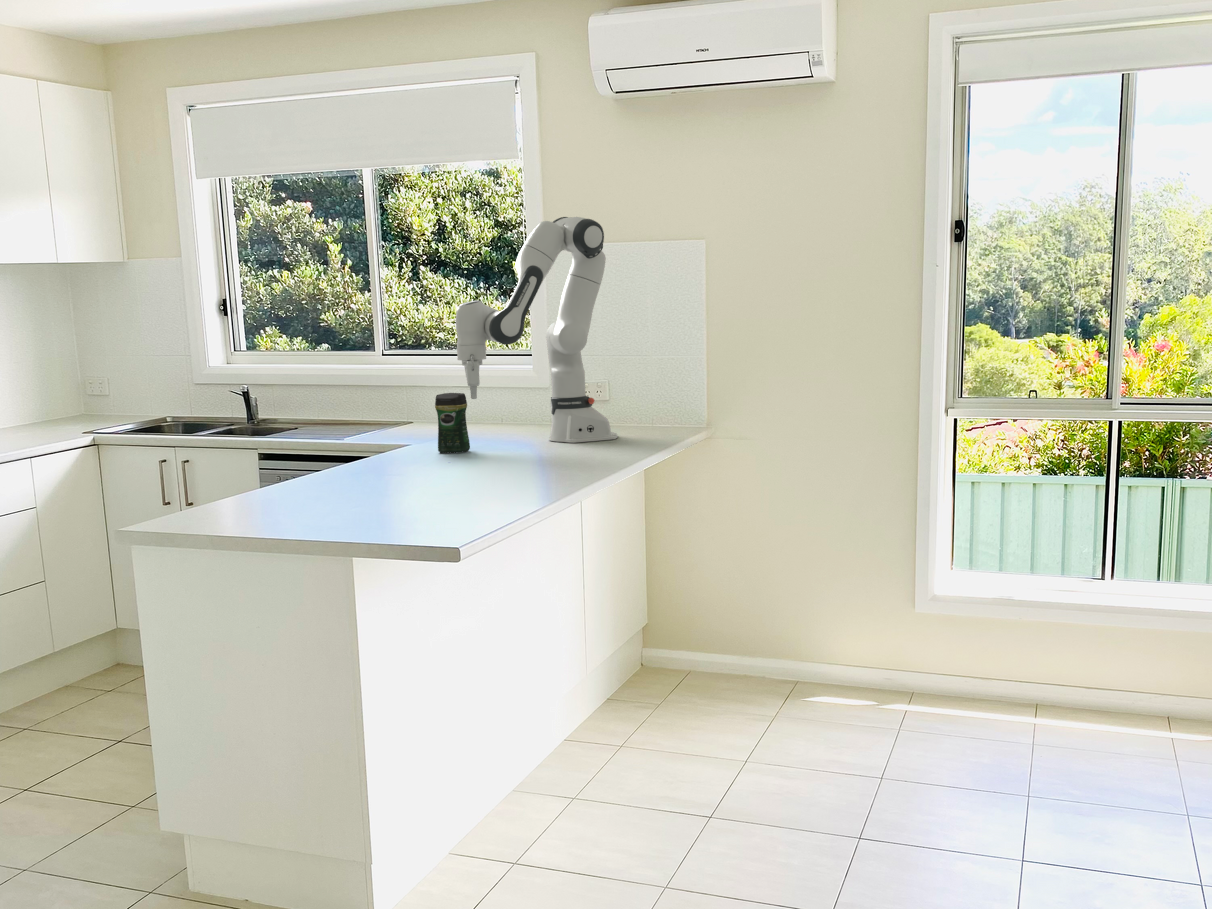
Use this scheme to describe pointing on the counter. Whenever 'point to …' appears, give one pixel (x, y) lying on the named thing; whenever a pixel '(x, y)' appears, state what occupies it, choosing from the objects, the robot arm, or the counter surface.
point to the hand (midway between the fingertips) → (473, 398)
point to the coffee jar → (452, 423)
